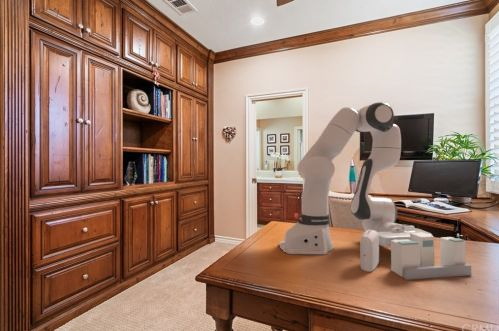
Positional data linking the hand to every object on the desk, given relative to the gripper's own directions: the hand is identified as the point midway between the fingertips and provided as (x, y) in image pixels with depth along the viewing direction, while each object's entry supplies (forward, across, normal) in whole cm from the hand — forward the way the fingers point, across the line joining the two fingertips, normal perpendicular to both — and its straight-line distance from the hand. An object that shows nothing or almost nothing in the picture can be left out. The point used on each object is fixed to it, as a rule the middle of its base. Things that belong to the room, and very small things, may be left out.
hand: (419, 245), depth 85 cm
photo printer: (-2, -17, +7) cm, 19 cm away
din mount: (+6, -1, +7) cm, 9 cm away
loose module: (+1, 0, +7) cm, 7 cm away
